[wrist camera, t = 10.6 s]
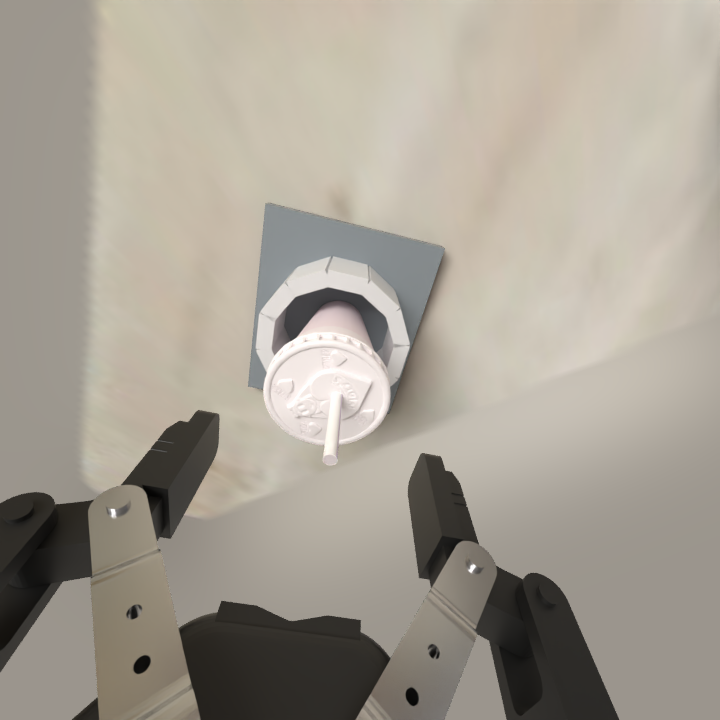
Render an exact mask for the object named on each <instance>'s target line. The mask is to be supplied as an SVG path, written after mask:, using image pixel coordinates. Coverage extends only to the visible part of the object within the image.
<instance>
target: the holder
mask: <svg viewBox="0 0 720 720" xmlns="http://www.w3.org/2000/svg"><path fill="white" fill-rule="evenodd" d="M444 250H445V248H443V247H442V246H439V245H435V244H431V243H427V242H423V241H419V240H415V239H411V238H407V237H403V236H399V235H395V234H391V233H387V232H383V231H379V230H375V229H371V228H367V227H363V226H359V225H355V224H351V223H347V222H343V221H339V220H335V219H331V218H327V217H323V216H319V215H315V214H312V213H308V212H304V211H300V210H296V209H292V208H288V207H284V206H280V205H276V204H272V203H266V204H265V214H264V224H263V235H262V245H261V256H260V266H259V277H258V287H257V298H256V308H255V319H254V329H253V340H252V350H251V361H250V371H249V382H248V387H253V388H259V389H263V387H264V381H265V377H266V374H267V370H268V367H269V365H270V363H271V361H272V359H273V357H274V356H275V355H276V353H277V352H278V351H279V350H280V349H281V348H282V347H283V346H284V345H285V344H287V343H289V342H291V341H292V340H294V339H296V338H297V336H298V335H299V334H300V333H301V331H302V330H303V329H304V327H305V326H306V325H307V324H308V322H309V321H310V320H311V318H312V317H313V316H314V315H315V313H316V312H317V311H318V310H319V308H320V307H321V306H323V305H324V304H326V303H328V302H331V301H344V302H347V303H349V304H351V305H353V306H354V307H355V308H356V309H357V310H358V311H359V312H360V314H361V316H362V319H363V322H364V324H365V327H366V330H367V333H368V335H369V338H370V341H371V344H372V347H373V349H374V351H375V352H376V353H377V354H378V355H379V357H380V358H381V360H382V361H383V363H384V365H385V366H386V368H387V372H388V375H389V379H390V396H391V397H390V405H389V409H388V412H387V414H389V413H390V410H391V407H392V404H393V401H394V398H395V395H396V392H397V389H398V386H399V383H400V380H401V377H402V374H403V371H404V368H405V365H406V362H407V359H408V356H409V353H410V350H411V347H412V345H413V342H414V339H415V336H416V333H417V330H418V327H419V324H420V321H421V318H422V315H423V312H424V309H425V306H426V303H427V300H428V297H429V294H430V291H431V288H432V285H433V282H434V279H435V276H436V274H437V271H438V268H439V265H440V262H441V259H442V256H443V253H444Z"/></svg>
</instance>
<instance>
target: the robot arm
mask: <svg viewBox="0 0 720 720" xmlns="http://www.w3.org/2000/svg"><path fill="white" fill-rule="evenodd" d="M218 441H219V414H217V413H212V412H206V411H201V410H198V411H196V413H195V414H194V415H193V417H192V418H191V419H190V421H189V422H183V421H178V422H177V423H175V424H174V425H172V426H170V427H169V428H167V429H166V430H165V431H164V433H163V434H162V435H161V436H160V438H159V439H158V441H156V442H155V444H154V445H153V446H152V447H151V450H149V451H148V452H147V454H146V455H145V456H144V457H143V459H142V460H141V461H140V462H139V464H138V465H137V466H136V467H135V469H134V470H133V471H132V472H131V474H130V475H129V476H128V477H127V479H126V480H125V481H124V482H123V483H122V484H121V486H116V487H113V488H111V489H108V490H106V491H105V492H103V493H101V494H100V495H99V496H97V497H96V498H95V499H94V500H91V501H85V502H77V503H76V502H75V503H66V504H56V505H55V502H54V499H53V498H52V497H51V496H50V495H48V494H45V493H39V492H38V493H37V492H34V493H26V494H21V495H18V496H15V497H12V498H10V499H8V500H6V501H4V502H2V503H0V672H1V670H2V669H3V668H4V666H5V665H6V663H7V662H8V660H9V659H10V657H11V656H12V654H13V653H14V652H15V650H16V649H17V647H18V646H19V644H20V642H21V641H22V640H23V638H24V637H25V636H26V634H27V633H28V631H29V630H30V628H31V627H32V625H33V624H34V623H35V621H36V620H37V618H38V617H39V615H40V614H41V612H42V611H43V609H44V608H45V607H46V605H47V603H48V602H49V601H50V599H51V598H52V596H53V595H54V594H55V592H56V591H57V589H58V588H59V586H60V584H61V583H62V582H63V581H68V580H74V579H80V578H85V577H91V576H92V577H91V600H92V615H93V631H94V646H95V662H96V677H97V692H98V697H97V698H96V699H95V700H94V701H93V702H91V703H90V704H89V705H88V706H87V707H86V708H85V709H83V710H82V711H81V712H80V713H79V714H78V715H77V716H75V717H74V718H73V719H72V720H444V719H445V717H446V714H447V711H448V709H449V707H450V704H451V702H452V699H453V696H454V694H455V691H456V689H457V686H458V683H459V681H460V678H461V676H462V673H463V670H464V668H465V666H466V663H467V660H468V658H469V655H470V653H471V650H472V648H473V645H474V642H475V640H476V637H477V634H478V635H480V636H482V637H484V638H485V639H487V640H489V642H490V646H491V651H492V655H493V660H494V664H495V669H496V673H497V678H498V682H499V687H500V691H501V696H502V700H503V704H504V710H505V714H506V719H507V720H619V718H618V716H617V713H616V711H615V709H614V707H613V704H612V702H611V700H610V697H609V695H608V693H607V690H606V688H605V686H604V683H603V682H602V679H601V676H600V674H599V672H598V670H597V667H596V665H595V663H594V660H593V658H592V656H591V653H590V651H589V649H588V647H587V644H586V642H585V640H584V637H583V635H582V633H581V630H580V628H579V626H578V624H577V621H576V619H575V616H574V614H573V612H572V610H571V607H570V605H569V603H568V600H567V599H566V597H565V595H564V594H563V592H562V591H561V589H560V588H559V587H558V586H557V585H556V584H555V583H554V582H553V581H551V580H550V579H549V578H547V577H545V576H543V575H541V574H538V573H530V574H528V575H526V576H525V578H524V579H521V578H519V577H517V576H515V575H513V574H511V573H509V572H507V571H504V570H503V569H501V568H499V567H497V566H496V565H495V562H494V560H493V558H492V557H491V555H490V554H489V553H488V552H487V551H486V550H485V549H484V548H483V547H481V546H480V545H479V543H478V540H477V537H476V534H475V531H474V527H473V524H472V521H471V517H470V514H469V511H468V508H467V507H466V501H465V498H464V497H463V492H462V489H461V485H460V483H459V481H458V480H457V479H456V477H455V476H454V474H453V473H452V472H449V471H445V468H444V465H443V461H442V458H441V457H440V456H435V455H430V454H425V453H422V454H421V455H420V457H419V459H418V461H417V464H416V466H415V468H414V471H413V473H412V476H411V478H410V481H409V485H408V498H409V506H410V513H411V521H412V528H413V535H414V543H415V551H416V558H417V566H418V573H419V578H424V579H430V584H431V590H430V591H429V593H428V594H427V596H426V598H425V600H424V601H423V603H422V605H421V606H420V608H419V610H418V612H417V613H416V615H415V617H414V619H413V620H412V622H411V624H410V625H409V627H408V629H407V631H406V633H405V634H404V636H403V637H402V639H401V641H400V643H399V644H398V646H397V648H396V649H395V651H394V653H393V655H392V656H391V658H390V657H389V656H388V655H387V653H386V652H385V651H384V650H383V649H382V648H381V646H380V645H378V644H377V643H376V642H375V641H374V640H373V639H371V638H369V637H368V636H367V635H365V634H363V633H361V632H360V627H361V624H360V623H361V620H356V619H348V618H341V617H334V616H322V617H317V618H310V619H304V620H298V621H288V620H286V619H284V618H282V617H279V616H277V615H275V614H273V613H271V612H269V611H267V610H265V609H262V608H260V607H258V606H254V605H247V604H240V603H233V602H226V601H221V604H220V607H219V610H218V612H217V613H212V614H208V615H204V616H201V617H199V618H196V619H194V620H192V621H190V622H188V623H186V624H184V625H183V626H181V627H180V628H178V624H177V620H176V616H175V611H174V606H173V602H172V597H171V593H170V589H169V584H168V580H167V575H166V571H165V567H164V562H163V558H162V554H161V551H160V549H159V548H158V544H157V541H158V539H159V537H163V538H171V537H172V535H173V534H174V532H175V530H176V528H177V526H178V524H179V523H180V521H181V519H182V517H183V515H184V513H185V512H186V510H187V508H188V506H189V504H190V502H191V501H192V499H193V497H194V495H195V493H196V491H197V490H198V488H199V486H200V484H201V482H202V480H203V479H204V477H205V475H206V473H207V471H208V469H209V468H210V466H211V464H212V462H213V460H214V458H215V455H216V452H217V449H218Z"/></svg>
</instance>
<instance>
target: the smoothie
mask: <svg viewBox="0 0 720 720" xmlns="http://www.w3.org/2000/svg"><path fill="white" fill-rule="evenodd" d="M263 394H264V401H265V404H266V407H267V410H268V412H269V414H270V415H271V417H272V418H273V420H274V421H275V422H276V423H277V424H278V425H279V427H281V428H282V429H283V430H284V431H285V432H287V433H288V434H290V435H291V436H293V437H295V438H297V439H299V440H301V441H304V442H307V443H310V444H315V445H321V446H324V454H323V462H324V463H325V464H327V465H334V464H336V463H337V459H338V447H339V445H345V444H349V443H353V442H355V441H358V440H360V439H362V438H364V437H366V436H367V435H369V434H370V433H372V432H373V431H374V430H375V429H376V428H377V427H378V426H379V425H380V424H381V422H382V421H383V419H384V418H385V416H386V414H387V412H388V409H389V405H390V397H391V396H390V379H389V375H388V372H387V368H386V366H385V365H384V363H383V361H382V360H381V358H380V357H379V355H378V354H377V353H376V352H375V351H374V349H373V347H372V344H371V341H370V338H369V335H368V333H367V330H366V327H365V324H364V322H363V319H362V316H361V314H360V312H359V311H358V310H357V309H356V308H355V307H354V306H353V305H351V304H349V303H347V302H344V301H331V302H328V303H326V304H324V305H323V306H321V307H320V308H319V310H318V311H317V312H316V313H315V315H314V316H313V317H312V318H311V320H310V321H309V322H308V324H307V325H306V326H305V327H304V329H303V330H302V331H301V333H300V334H299V335H298V336H297V338H296V339H294V340H292V341H291V342H289V343H287V344H285V345H284V346H283V347H282V348H281V349H280V350H279V351H278V352H277V353H276V355H275V356H274V357H273V359H272V361H271V363H270V365H269V367H268V370H267V374H266V377H265V381H264V387H263Z"/></svg>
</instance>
